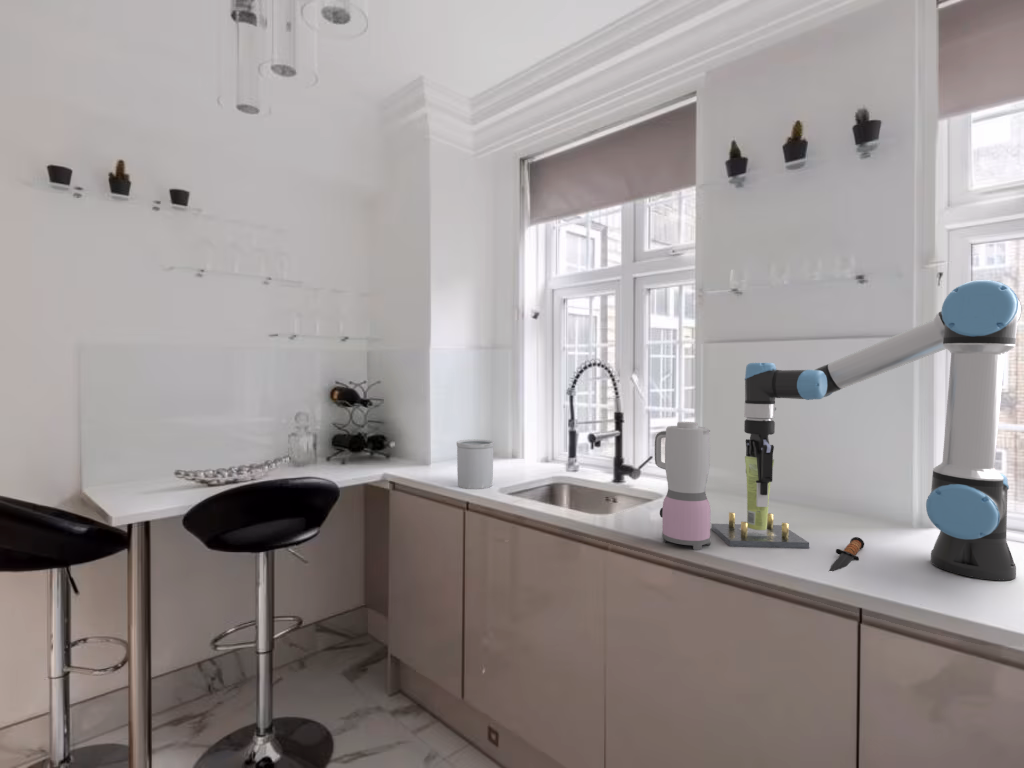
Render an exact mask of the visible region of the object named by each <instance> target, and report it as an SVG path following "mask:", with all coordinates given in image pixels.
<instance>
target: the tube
mask: <svg viewBox="0 0 1024 768" xmlns="http://www.w3.org/2000/svg"><path fill="white" fill-rule="evenodd" d="M744 463H745V474H746V499H747V500H746V501H747V502H746V504H747V505H746V509H747V510H746V512H747V514H746V515H747V517H746V522H748V528H750V529H754V530H766V529H767V517H768V513H769V506H768V507H757V506H756V499H757V483H756V481H757V480H758V468H757V458H756V457H748V456H746V455H745V456H744ZM773 465H775V459H773ZM771 483H772V482H769V483H768V505H769V501H770V493H771V492H770V491H771Z"/></svg>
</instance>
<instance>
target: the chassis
mask: <svg viewBox="0 0 1024 768" xmlns="http://www.w3.org/2000/svg"><path fill="white" fill-rule="evenodd" d="M789 527H790V524H789V523H788V522H781V525H780V524H779V525H778V524H777V525H776V524H774V513H772V512H771V513H770V512H768V517H767V529H766V530H754V529H750V528H748V522H747V521H741V522H740V523H736V513H735V512H732V511H731V512H730V511H729V512H728V523H710V530H712V531H713V532H714V533H715V534H716V535H717V536H718V537H719V538H720V539H722V541H723V542H725V543H726V544H727V545H728V546H729V547H742V548H743V547H745V548H781V549H786V548H787V549H810V542H809V541H808V540H806V539H804V538H802V536H800V535H798V534H796V533H795V532H793V531H792V530H790V528H789Z"/></svg>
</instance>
